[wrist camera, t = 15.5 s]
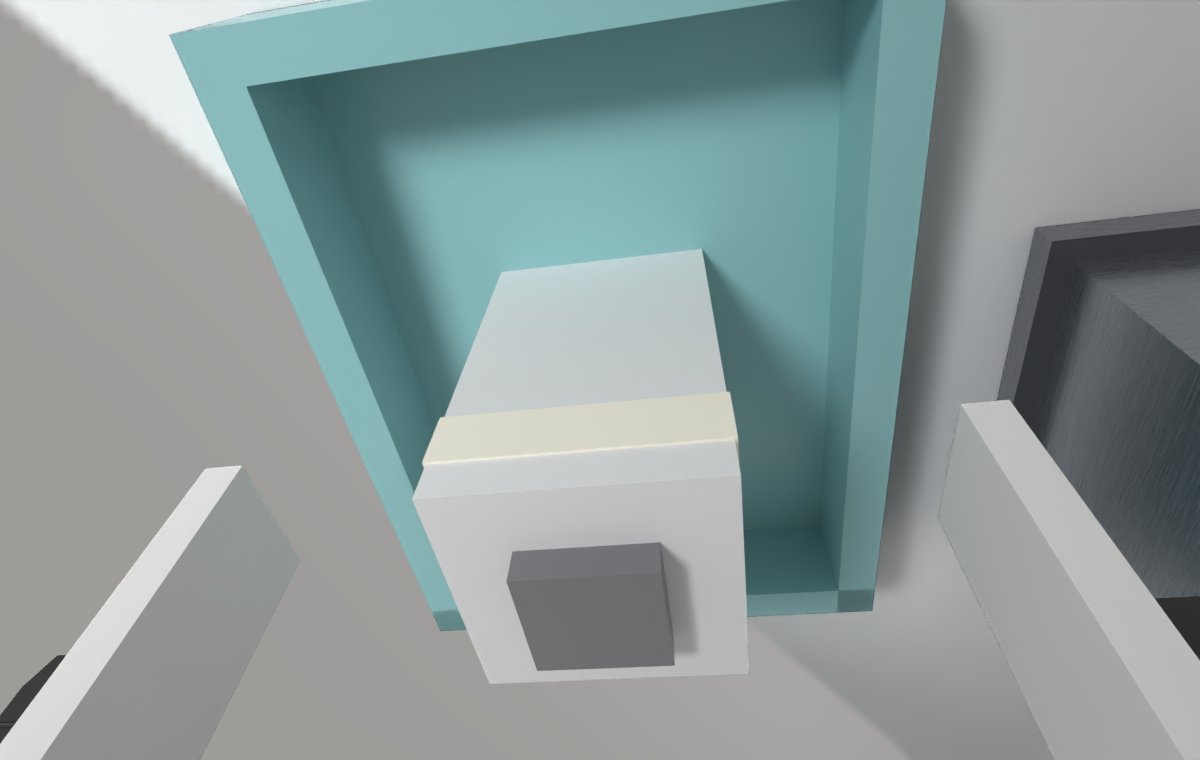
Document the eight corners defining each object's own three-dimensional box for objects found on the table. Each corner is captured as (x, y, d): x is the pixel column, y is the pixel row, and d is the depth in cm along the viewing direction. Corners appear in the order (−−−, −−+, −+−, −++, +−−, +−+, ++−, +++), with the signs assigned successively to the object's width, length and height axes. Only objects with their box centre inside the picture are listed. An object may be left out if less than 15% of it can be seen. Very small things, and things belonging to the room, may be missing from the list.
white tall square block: (499, 270, 17) (396, 526, 10) (703, 246, 16) (749, 501, 9) (539, 428, 20) (481, 714, 13) (715, 413, 19) (757, 706, 12)
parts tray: (250, 13, 14) (169, 34, 12) (897, -99, 13) (958, -102, 10) (461, 557, 24) (440, 631, 22) (846, 533, 22) (872, 610, 20)
